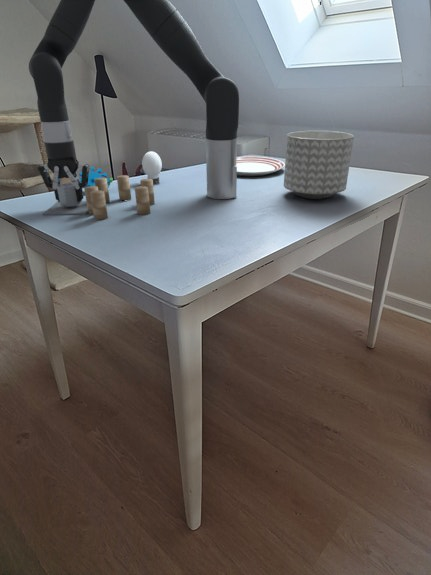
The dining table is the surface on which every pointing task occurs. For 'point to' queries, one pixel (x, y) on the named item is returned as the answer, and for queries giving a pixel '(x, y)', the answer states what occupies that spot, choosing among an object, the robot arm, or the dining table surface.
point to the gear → (95, 175)
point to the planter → (317, 163)
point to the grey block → (67, 194)
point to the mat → (67, 209)
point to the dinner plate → (257, 166)
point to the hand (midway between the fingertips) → (70, 201)
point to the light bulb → (152, 166)
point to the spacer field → (100, 196)
